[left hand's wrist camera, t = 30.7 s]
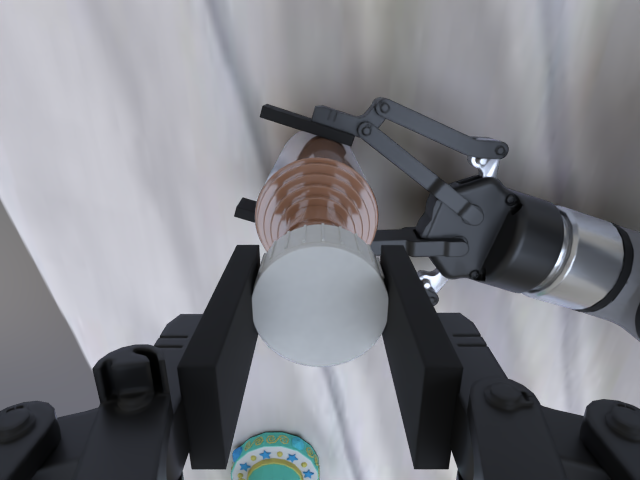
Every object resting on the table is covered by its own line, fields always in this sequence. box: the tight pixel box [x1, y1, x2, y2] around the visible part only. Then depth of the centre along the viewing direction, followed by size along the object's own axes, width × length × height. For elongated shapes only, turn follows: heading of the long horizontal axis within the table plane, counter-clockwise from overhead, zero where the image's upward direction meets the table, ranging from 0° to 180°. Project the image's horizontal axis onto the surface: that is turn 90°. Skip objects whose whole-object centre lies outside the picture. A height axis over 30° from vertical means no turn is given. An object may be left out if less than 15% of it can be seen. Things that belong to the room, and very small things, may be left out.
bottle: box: [255, 131, 378, 252], centre depth 28 cm, size 7×7×21 cm
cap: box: [252, 223, 388, 367], centre depth 14 cm, size 4×4×2 cm
